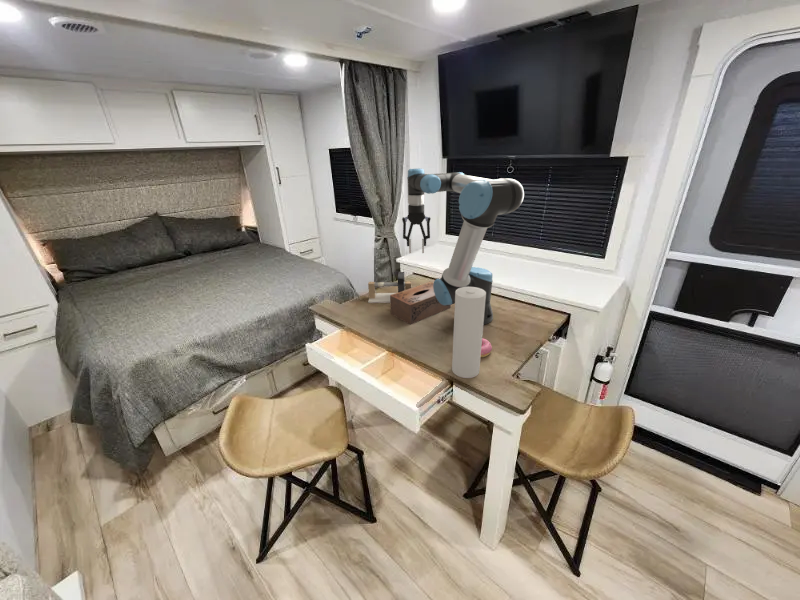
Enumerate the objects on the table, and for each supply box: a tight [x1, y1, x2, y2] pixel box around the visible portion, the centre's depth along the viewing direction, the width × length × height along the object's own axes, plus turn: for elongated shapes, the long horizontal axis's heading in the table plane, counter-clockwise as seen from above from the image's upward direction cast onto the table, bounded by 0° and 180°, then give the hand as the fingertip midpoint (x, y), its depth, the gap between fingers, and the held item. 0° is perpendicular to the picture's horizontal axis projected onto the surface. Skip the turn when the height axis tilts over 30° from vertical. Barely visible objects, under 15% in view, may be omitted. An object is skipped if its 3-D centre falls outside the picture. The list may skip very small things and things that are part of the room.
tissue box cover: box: [389, 281, 452, 325], centre depth 157 cm, size 26×14×10 cm, turn 129°
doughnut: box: [480, 337, 493, 358], centre depth 125 cm, size 11×11×4 cm
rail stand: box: [367, 281, 412, 304], centre depth 172 cm, size 11×22×9 cm, turn 87°
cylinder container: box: [451, 287, 486, 379], centre depth 109 cm, size 9×9×30 cm
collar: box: [397, 271, 405, 293], centre depth 170 cm, size 10×3×10 cm, turn 177°
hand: (416, 252), depth 163 cm, fingers open, 6 cm apart
